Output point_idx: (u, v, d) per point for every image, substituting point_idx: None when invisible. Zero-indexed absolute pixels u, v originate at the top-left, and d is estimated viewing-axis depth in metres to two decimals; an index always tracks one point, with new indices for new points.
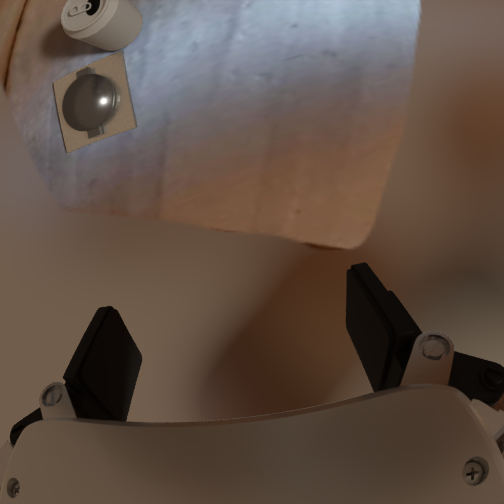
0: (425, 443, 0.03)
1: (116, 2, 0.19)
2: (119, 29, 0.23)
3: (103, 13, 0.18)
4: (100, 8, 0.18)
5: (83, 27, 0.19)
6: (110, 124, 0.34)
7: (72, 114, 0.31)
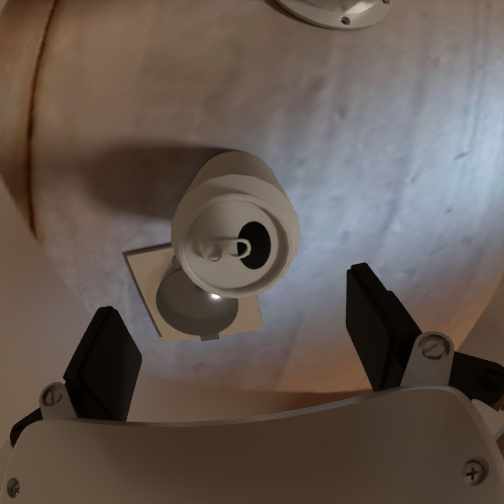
0: (425, 443, 0.03)
1: (296, 242, 0.17)
2: None
3: None
4: (272, 259, 0.16)
5: (242, 296, 0.17)
6: None
7: (175, 315, 0.29)
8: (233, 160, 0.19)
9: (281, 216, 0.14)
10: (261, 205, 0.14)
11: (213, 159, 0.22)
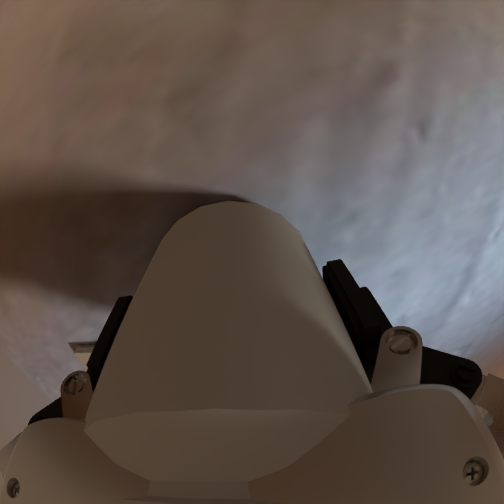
0: (425, 443, 0.03)
1: None
2: None
3: None
4: None
5: None
6: None
7: None
8: (225, 257, 0.07)
9: None
10: None
11: (185, 225, 0.11)
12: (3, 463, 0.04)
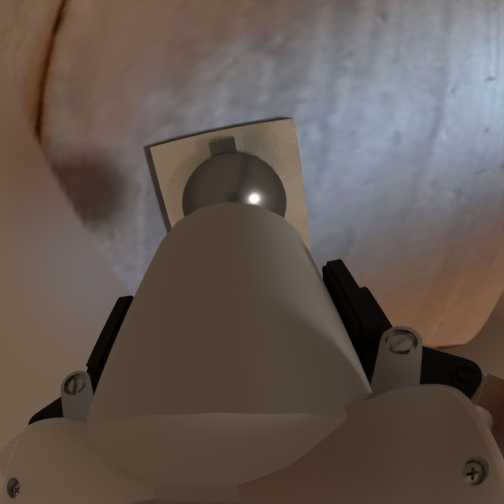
0: (425, 443, 0.03)
1: None
2: None
3: None
4: None
5: None
6: None
7: None
8: (225, 259, 0.07)
9: None
10: None
11: (185, 226, 0.11)
12: (3, 463, 0.04)
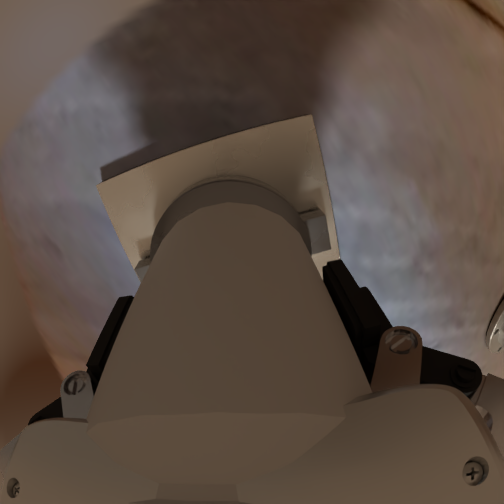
0: (425, 443, 0.03)
1: None
2: None
3: None
4: None
5: None
6: None
7: None
8: (226, 259, 0.07)
9: None
10: None
11: (185, 226, 0.11)
12: (3, 463, 0.04)
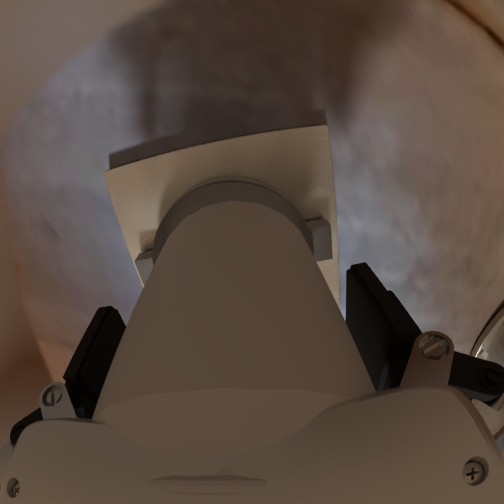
0: (425, 443, 0.03)
1: None
2: None
3: None
4: None
5: None
6: None
7: None
8: (231, 253, 0.08)
9: None
10: None
11: (191, 223, 0.11)
12: None
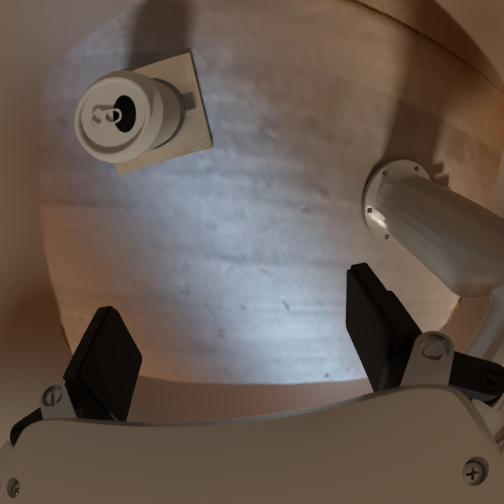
0: (425, 443, 0.03)
1: (160, 111, 0.19)
2: (161, 138, 0.23)
3: (145, 131, 0.18)
4: (138, 122, 0.18)
5: (117, 154, 0.18)
6: None
7: None
8: None
9: (138, 85, 0.16)
10: (124, 81, 0.16)
11: None
12: None
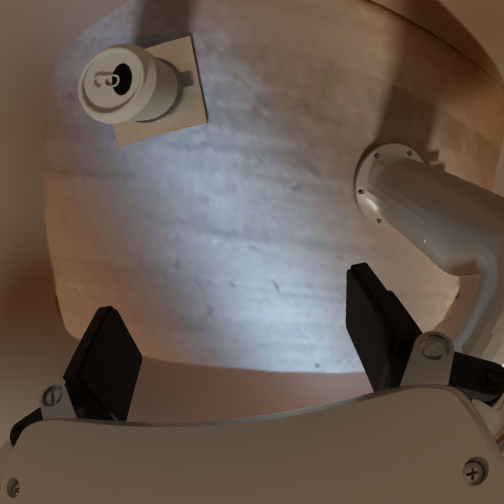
0: (425, 443, 0.03)
1: (153, 78, 0.19)
2: (155, 106, 0.24)
3: (138, 94, 0.19)
4: (133, 86, 0.19)
5: (113, 113, 0.19)
6: None
7: None
8: None
9: (135, 54, 0.17)
10: (124, 50, 0.17)
11: None
12: None
